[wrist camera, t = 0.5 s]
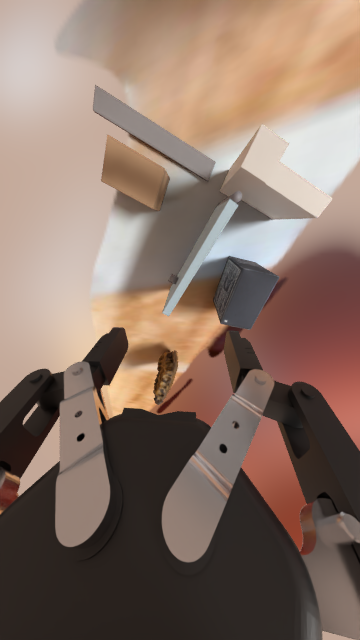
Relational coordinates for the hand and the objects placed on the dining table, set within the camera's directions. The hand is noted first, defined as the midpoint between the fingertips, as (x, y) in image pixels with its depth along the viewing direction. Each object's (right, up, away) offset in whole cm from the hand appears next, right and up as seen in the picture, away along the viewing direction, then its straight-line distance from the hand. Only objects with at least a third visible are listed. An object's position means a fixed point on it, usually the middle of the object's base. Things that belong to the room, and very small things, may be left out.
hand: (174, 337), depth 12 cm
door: (+3, +15, +19) cm, 25 cm away
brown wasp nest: (-3, -8, +35) cm, 36 cm away
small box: (+12, +10, +23) cm, 28 cm away
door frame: (+3, +27, +13) cm, 30 cm away
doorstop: (-6, +25, +15) cm, 30 cm away
